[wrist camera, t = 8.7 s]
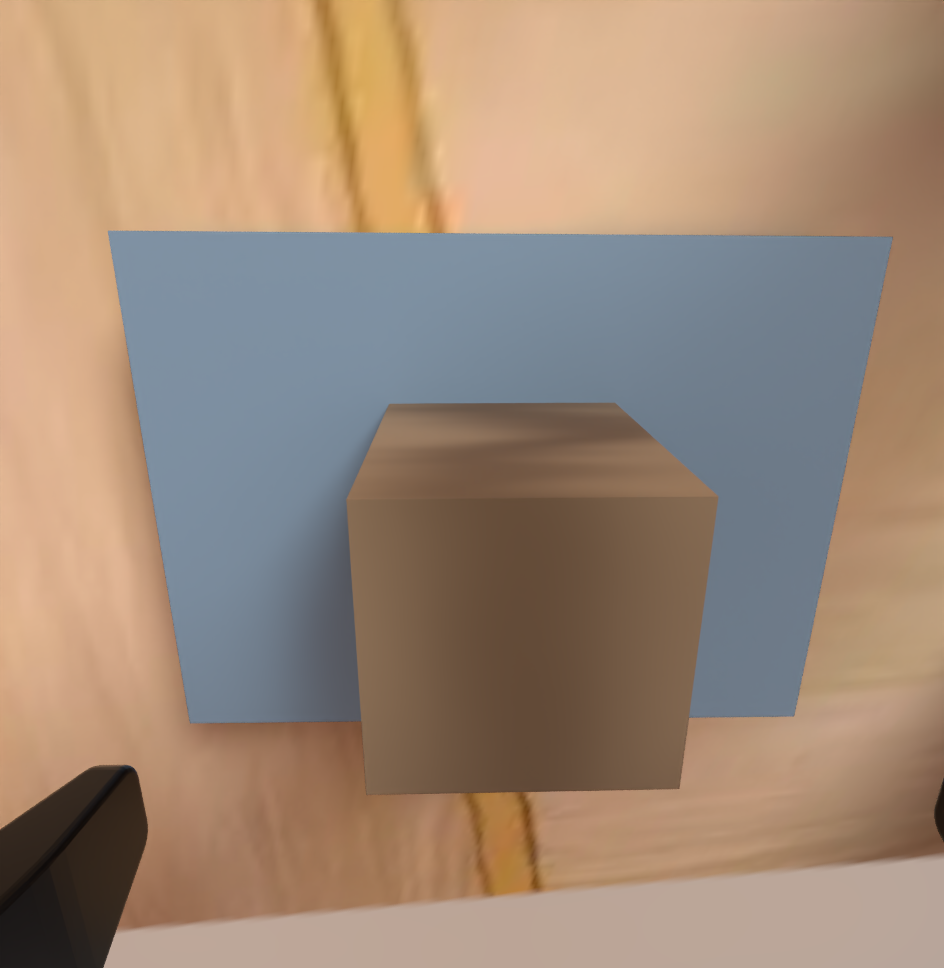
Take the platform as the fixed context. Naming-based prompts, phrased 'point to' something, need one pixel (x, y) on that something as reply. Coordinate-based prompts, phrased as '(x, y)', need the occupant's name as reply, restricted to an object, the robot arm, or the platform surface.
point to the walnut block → (525, 599)
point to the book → (480, 379)
